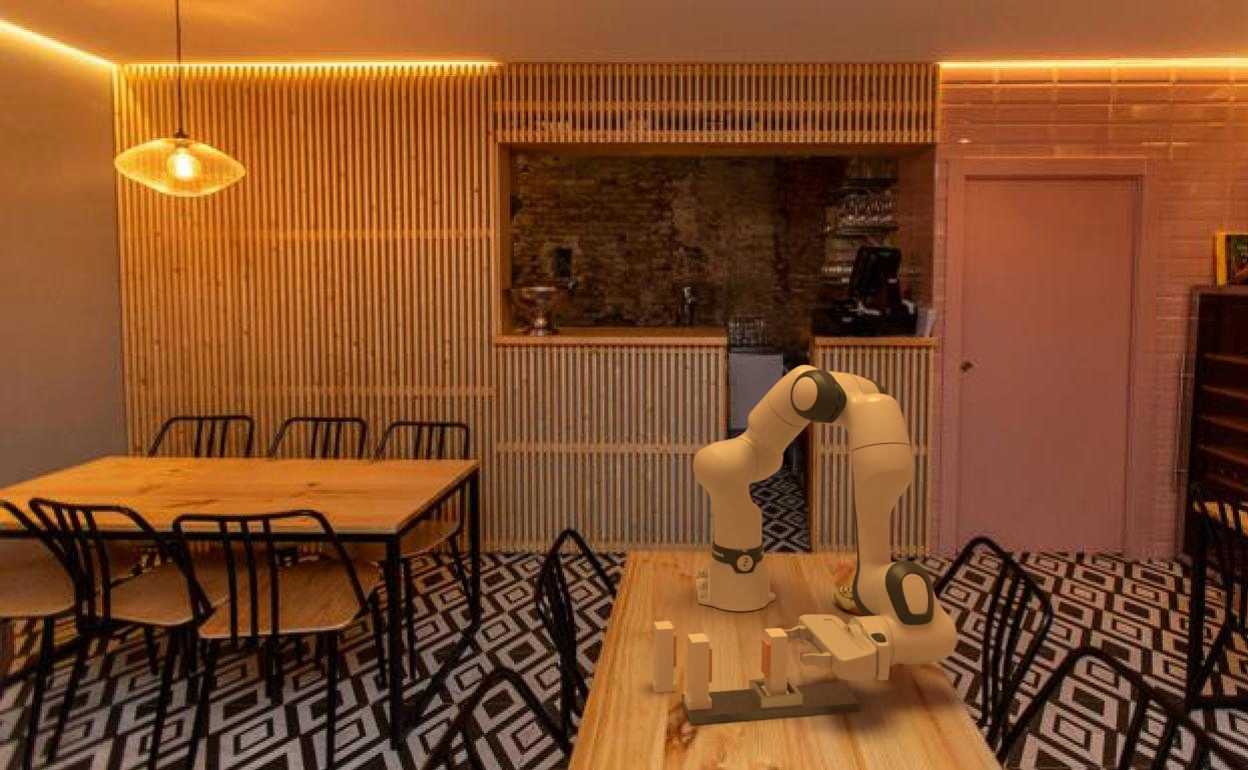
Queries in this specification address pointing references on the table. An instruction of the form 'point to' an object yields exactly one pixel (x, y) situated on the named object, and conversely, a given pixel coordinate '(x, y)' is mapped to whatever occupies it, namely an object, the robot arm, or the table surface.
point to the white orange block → (664, 657)
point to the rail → (774, 703)
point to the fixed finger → (698, 672)
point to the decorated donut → (846, 599)
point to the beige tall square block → (774, 662)
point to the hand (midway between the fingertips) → (791, 647)
